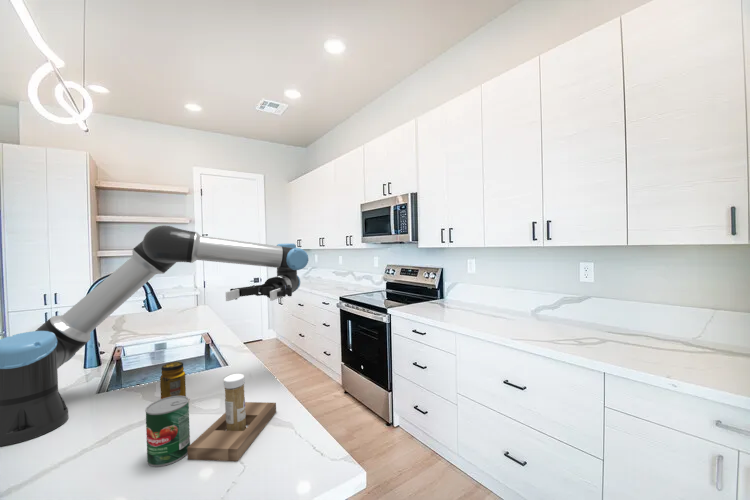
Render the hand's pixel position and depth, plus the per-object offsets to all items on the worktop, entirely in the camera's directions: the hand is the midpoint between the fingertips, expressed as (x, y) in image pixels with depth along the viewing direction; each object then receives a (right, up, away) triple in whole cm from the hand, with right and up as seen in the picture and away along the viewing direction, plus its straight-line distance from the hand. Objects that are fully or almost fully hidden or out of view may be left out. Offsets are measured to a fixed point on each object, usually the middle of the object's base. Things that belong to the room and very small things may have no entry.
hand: (248, 296), depth 96 cm
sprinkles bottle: (+4, -30, -18) cm, 35 cm away
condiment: (-20, -31, -4) cm, 37 cm away
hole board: (+4, -30, -18) cm, 35 cm away
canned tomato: (-7, -31, -25) cm, 41 cm away
